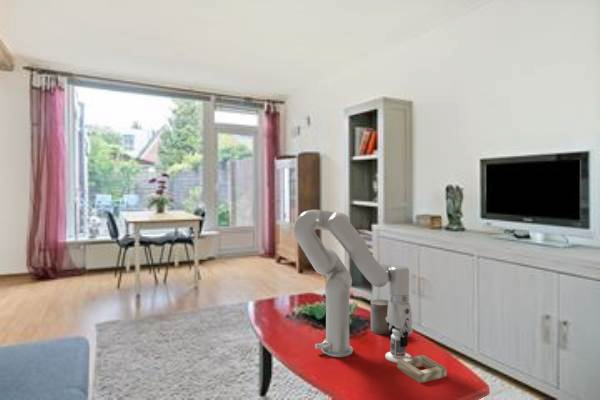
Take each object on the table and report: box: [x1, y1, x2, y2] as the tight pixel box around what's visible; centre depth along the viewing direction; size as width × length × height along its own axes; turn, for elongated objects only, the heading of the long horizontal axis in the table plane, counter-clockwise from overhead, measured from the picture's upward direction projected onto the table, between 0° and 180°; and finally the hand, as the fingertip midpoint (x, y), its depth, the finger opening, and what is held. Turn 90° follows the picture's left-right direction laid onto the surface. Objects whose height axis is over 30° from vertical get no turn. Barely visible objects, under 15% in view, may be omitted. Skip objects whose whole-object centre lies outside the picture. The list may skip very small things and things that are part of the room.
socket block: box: [396, 354, 447, 384], centre depth 138 cm, size 12×12×3 cm
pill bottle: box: [390, 327, 407, 357], centre depth 150 cm, size 6×6×10 cm
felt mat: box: [384, 350, 412, 364], centre depth 150 cm, size 10×10×1 cm
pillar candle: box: [370, 298, 390, 335], centre depth 179 cm, size 10×10×15 cm
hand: (398, 342), depth 150 cm, fingers open, 5 cm apart
